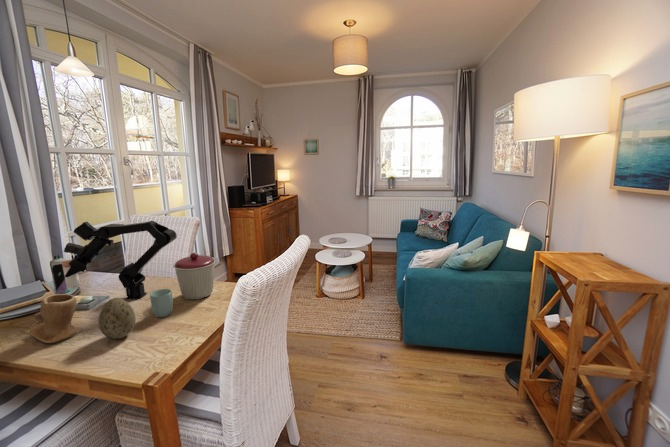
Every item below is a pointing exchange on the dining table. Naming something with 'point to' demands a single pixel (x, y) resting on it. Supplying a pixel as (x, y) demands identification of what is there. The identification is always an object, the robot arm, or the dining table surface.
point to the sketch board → (92, 304)
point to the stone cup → (55, 318)
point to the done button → (86, 300)
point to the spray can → (58, 275)
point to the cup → (161, 302)
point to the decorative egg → (116, 318)
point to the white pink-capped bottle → (71, 280)
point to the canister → (195, 276)
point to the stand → (38, 317)
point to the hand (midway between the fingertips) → (67, 274)
